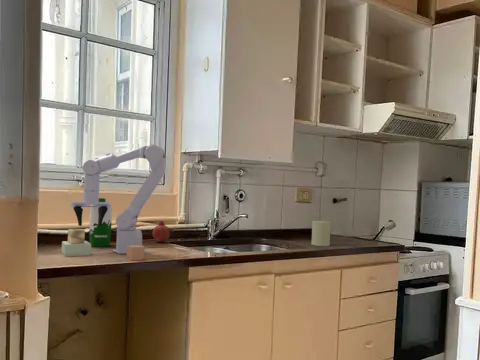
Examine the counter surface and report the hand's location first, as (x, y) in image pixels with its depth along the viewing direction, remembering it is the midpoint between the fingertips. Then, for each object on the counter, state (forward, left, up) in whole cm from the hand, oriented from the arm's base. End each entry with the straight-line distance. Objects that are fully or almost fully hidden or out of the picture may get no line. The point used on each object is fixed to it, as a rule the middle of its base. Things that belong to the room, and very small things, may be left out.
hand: (89, 225), depth 181 cm
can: (-110, +15, -10) cm, 111 cm away
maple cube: (+7, +6, -6) cm, 10 cm away
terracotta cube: (-10, +24, -10) cm, 28 cm away
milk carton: (-8, -13, -10) cm, 18 cm away
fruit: (-37, -15, -10) cm, 41 cm away
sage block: (+6, +6, -10) cm, 13 cm away
